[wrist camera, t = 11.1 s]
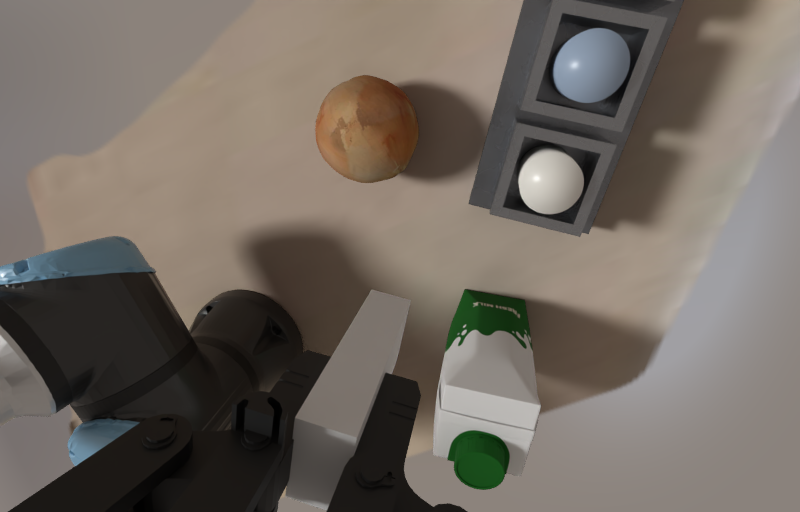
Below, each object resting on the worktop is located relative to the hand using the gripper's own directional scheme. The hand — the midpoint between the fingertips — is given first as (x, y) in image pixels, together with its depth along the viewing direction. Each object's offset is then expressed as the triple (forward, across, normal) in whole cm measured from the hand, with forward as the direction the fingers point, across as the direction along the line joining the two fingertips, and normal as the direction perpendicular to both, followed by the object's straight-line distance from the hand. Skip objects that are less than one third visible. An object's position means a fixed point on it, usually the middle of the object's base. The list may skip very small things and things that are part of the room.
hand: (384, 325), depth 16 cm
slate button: (+28, +8, +11) cm, 31 cm away
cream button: (+28, +8, +2) cm, 29 cm away
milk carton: (+33, +8, -17) cm, 38 cm away
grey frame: (+32, +8, +11) cm, 35 cm away
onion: (+33, -9, +2) cm, 34 cm away
